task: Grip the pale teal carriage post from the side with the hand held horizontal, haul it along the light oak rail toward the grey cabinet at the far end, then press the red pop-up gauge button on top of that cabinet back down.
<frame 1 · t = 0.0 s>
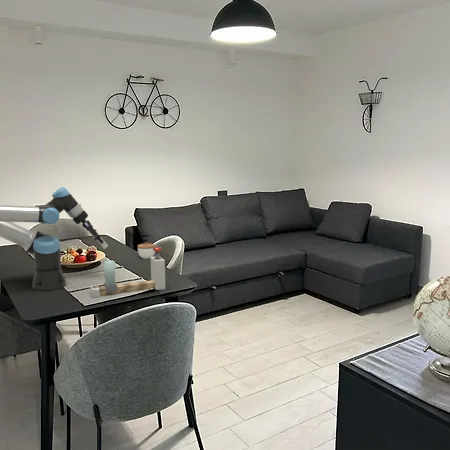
hand: (104, 244, 243), 15 cm above the table, tool tilted 35°, fingers open, 13 cm apart
gauge plunger: (157, 259, 218), point 14 cm above the table, slide at 0.0 cm
rail: (126, 290, 215), on the table
carriage: (109, 275, 210), point 8 cm above the table, slide at 0.0 cm
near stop: (95, 294, 209), on the table
lidded jar: (146, 257, 280), on the table
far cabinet: (158, 286, 221), on the table
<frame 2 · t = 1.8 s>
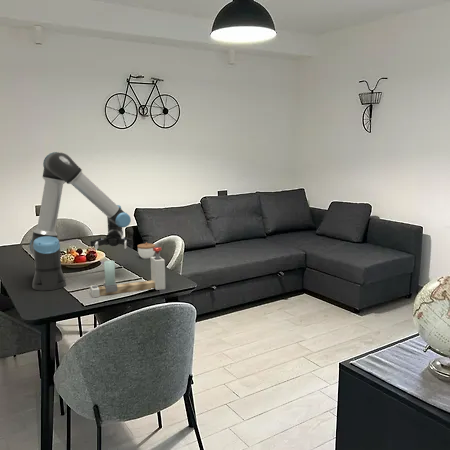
hand: (110, 246, 218), 20 cm above the table, tool horizontal, fingers open, 13 cm apart
nothing on the table moved.
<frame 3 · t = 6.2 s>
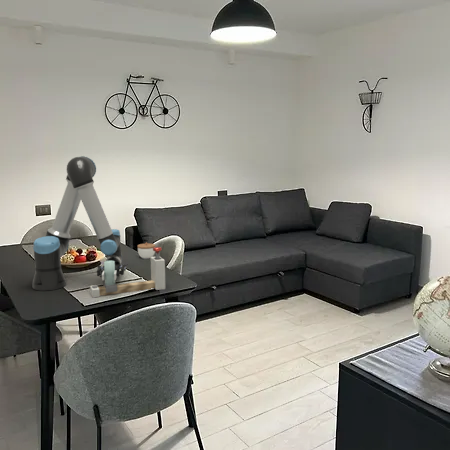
hand: (108, 277, 205), 9 cm above the table, tool horizontal, fingers closed on carriage, 5 cm apart
carriage: (109, 275, 210), point 8 cm above the table, slide at 0.0 cm, touching gripper
everything else where it was.
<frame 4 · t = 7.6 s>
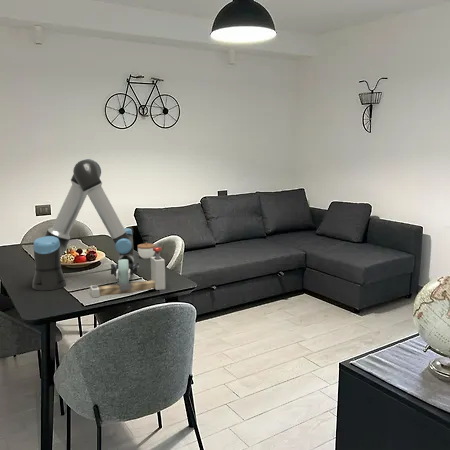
hand: (123, 275, 207), 9 cm above the table, tool horizontal, fingers closed on carriage, 5 cm apart
carriage: (123, 274, 213), point 8 cm above the table, slide at 6.3 cm, touching gripper
everything else where it was.
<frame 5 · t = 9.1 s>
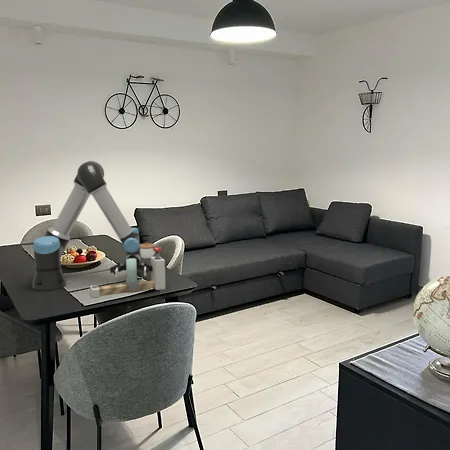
hand: (130, 273, 211), 9 cm above the table, tool horizontal, fingers open, 12 cm apart
carriage: (131, 273, 214), point 8 cm above the table, slide at 10.1 cm
everything else where it was.
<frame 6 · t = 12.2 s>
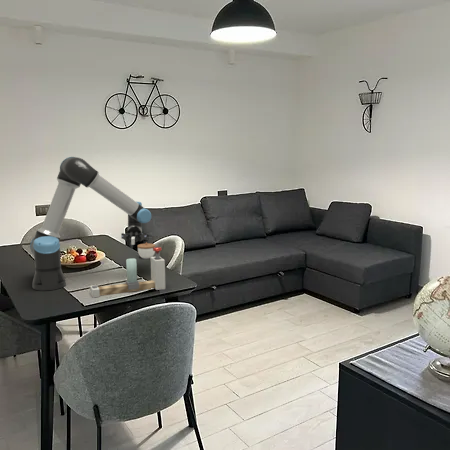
hand: (132, 241, 220), 22 cm above the table, tool horizontal, fingers closed
nothing on the table moved.
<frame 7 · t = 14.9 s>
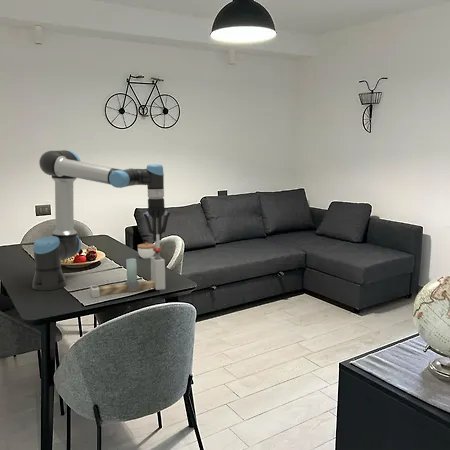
hand: (157, 247, 217), 19 cm above the table, tool pointing down, fingers closed
gauge plunger: (157, 259, 218), point 13 cm above the table, slide at 0.1 cm, touching gripper
everything else where it was.
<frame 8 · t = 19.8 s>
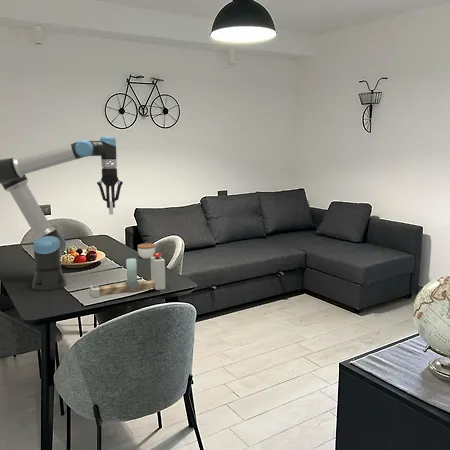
hand: (111, 214, 235), 32 cm above the table, tool pointing down, fingers closed
gauge plunger: (157, 264, 219), point 11 cm above the table, slide at 2.7 cm
everything else where it was.
at the end: carriage slide at 10.1 cm; gauge plunger slide at 2.7 cm; the gripper is holding nothing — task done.
